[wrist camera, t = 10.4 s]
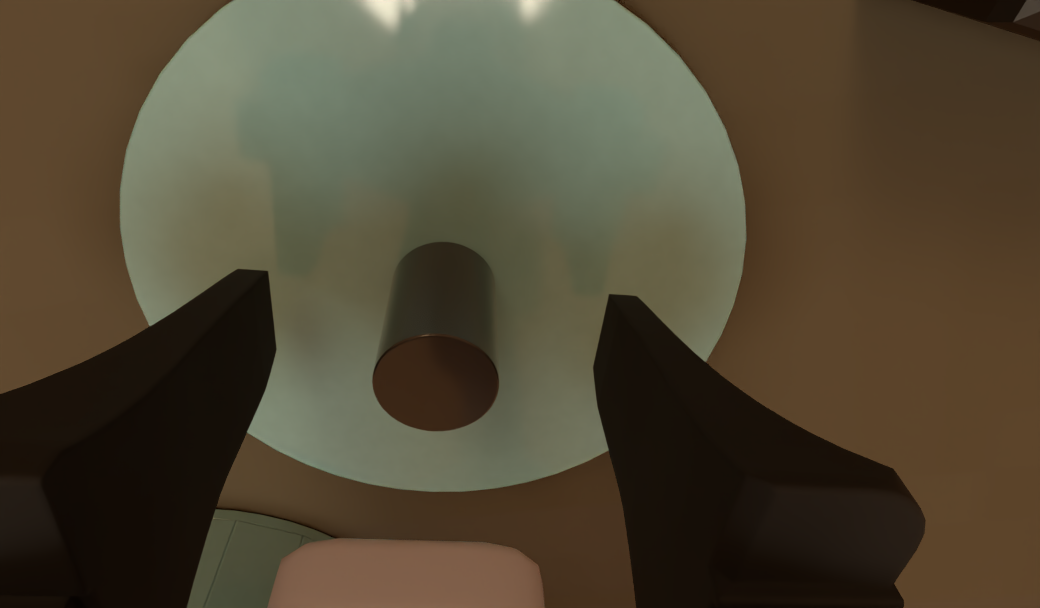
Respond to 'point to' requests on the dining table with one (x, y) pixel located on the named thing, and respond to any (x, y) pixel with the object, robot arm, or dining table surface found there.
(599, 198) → the lid
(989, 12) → the food platter
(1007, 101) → the dining table surface
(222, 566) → the pot
